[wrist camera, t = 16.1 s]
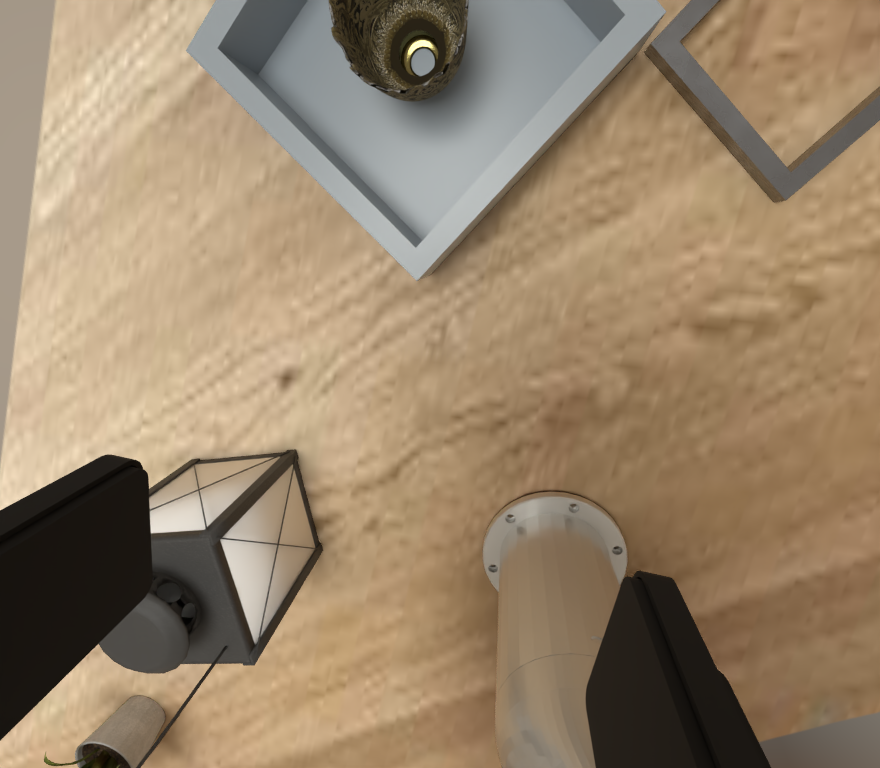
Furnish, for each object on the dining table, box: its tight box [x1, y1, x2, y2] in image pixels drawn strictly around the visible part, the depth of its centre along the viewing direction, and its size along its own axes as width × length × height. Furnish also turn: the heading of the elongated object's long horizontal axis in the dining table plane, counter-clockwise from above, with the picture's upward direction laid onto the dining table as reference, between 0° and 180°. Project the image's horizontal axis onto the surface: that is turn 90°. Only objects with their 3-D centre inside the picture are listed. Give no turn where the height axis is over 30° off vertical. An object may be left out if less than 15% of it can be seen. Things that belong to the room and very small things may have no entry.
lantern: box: [99, 450, 323, 768], centre depth 33 cm, size 11×11×28 cm
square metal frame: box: [644, 0, 880, 202], centre depth 29 cm, size 13×13×2 cm
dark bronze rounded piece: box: [329, 0, 469, 102], centre depth 28 cm, size 8×7×8 cm
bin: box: [186, 0, 666, 281], centre depth 30 cm, size 20×20×6 cm
